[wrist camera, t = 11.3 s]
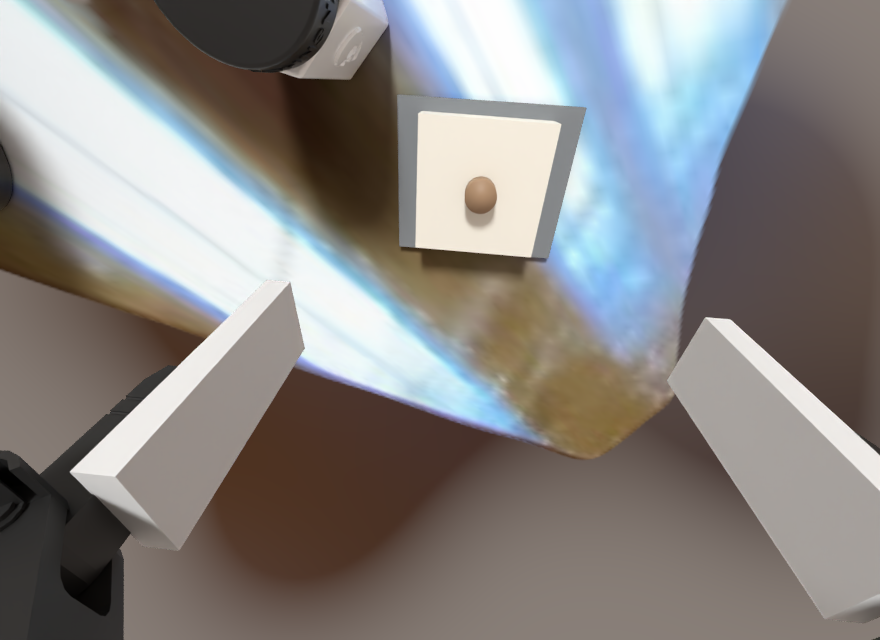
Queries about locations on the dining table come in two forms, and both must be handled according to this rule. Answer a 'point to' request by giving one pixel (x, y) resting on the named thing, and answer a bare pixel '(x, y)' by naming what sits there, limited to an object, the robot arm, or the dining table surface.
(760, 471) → the robot arm
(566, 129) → the mat
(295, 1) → the jar
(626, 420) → the dining table surface
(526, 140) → the lid
